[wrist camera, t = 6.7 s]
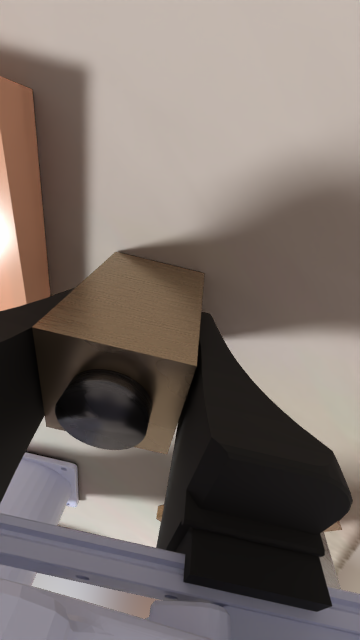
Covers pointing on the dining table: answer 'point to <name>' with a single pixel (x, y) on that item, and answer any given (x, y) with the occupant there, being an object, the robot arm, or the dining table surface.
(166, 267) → the wooden block with knob
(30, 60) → the dining table surface
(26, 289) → the terracotta tray
